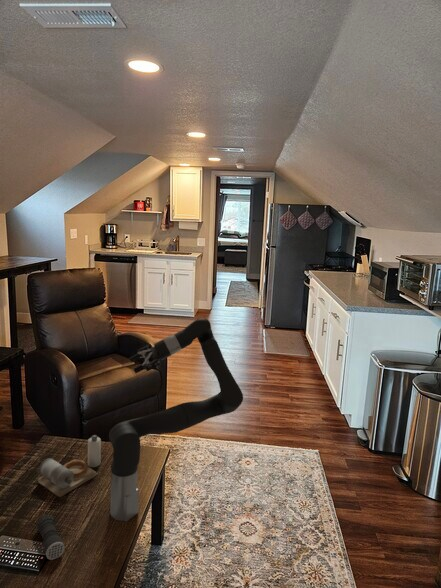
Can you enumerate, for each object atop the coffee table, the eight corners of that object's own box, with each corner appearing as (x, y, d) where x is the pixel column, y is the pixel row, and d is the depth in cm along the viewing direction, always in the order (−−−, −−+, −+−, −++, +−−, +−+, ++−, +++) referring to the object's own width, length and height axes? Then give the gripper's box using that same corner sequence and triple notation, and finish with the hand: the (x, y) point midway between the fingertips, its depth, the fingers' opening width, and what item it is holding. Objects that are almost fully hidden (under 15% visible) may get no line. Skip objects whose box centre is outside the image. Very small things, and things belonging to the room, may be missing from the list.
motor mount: (98, 476, 167) (98, 457, 165) (61, 498, 153) (61, 478, 151) (74, 462, 175) (74, 444, 173) (38, 482, 161) (37, 463, 159)
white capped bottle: (103, 463, 175) (103, 435, 173) (93, 468, 171) (93, 441, 169) (95, 458, 178) (95, 431, 176) (85, 464, 174) (85, 436, 172)
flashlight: (35, 530, 138) (35, 516, 137) (52, 524, 141) (52, 510, 140) (46, 562, 125) (46, 547, 124) (64, 555, 128) (64, 540, 127)
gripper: (176, 362, 166) (139, 381, 163) (166, 345, 178) (132, 363, 175) (169, 348, 162) (131, 367, 159) (160, 332, 174) (125, 350, 171)
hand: (132, 365), depth 167 cm, fingers open, 8 cm apart
